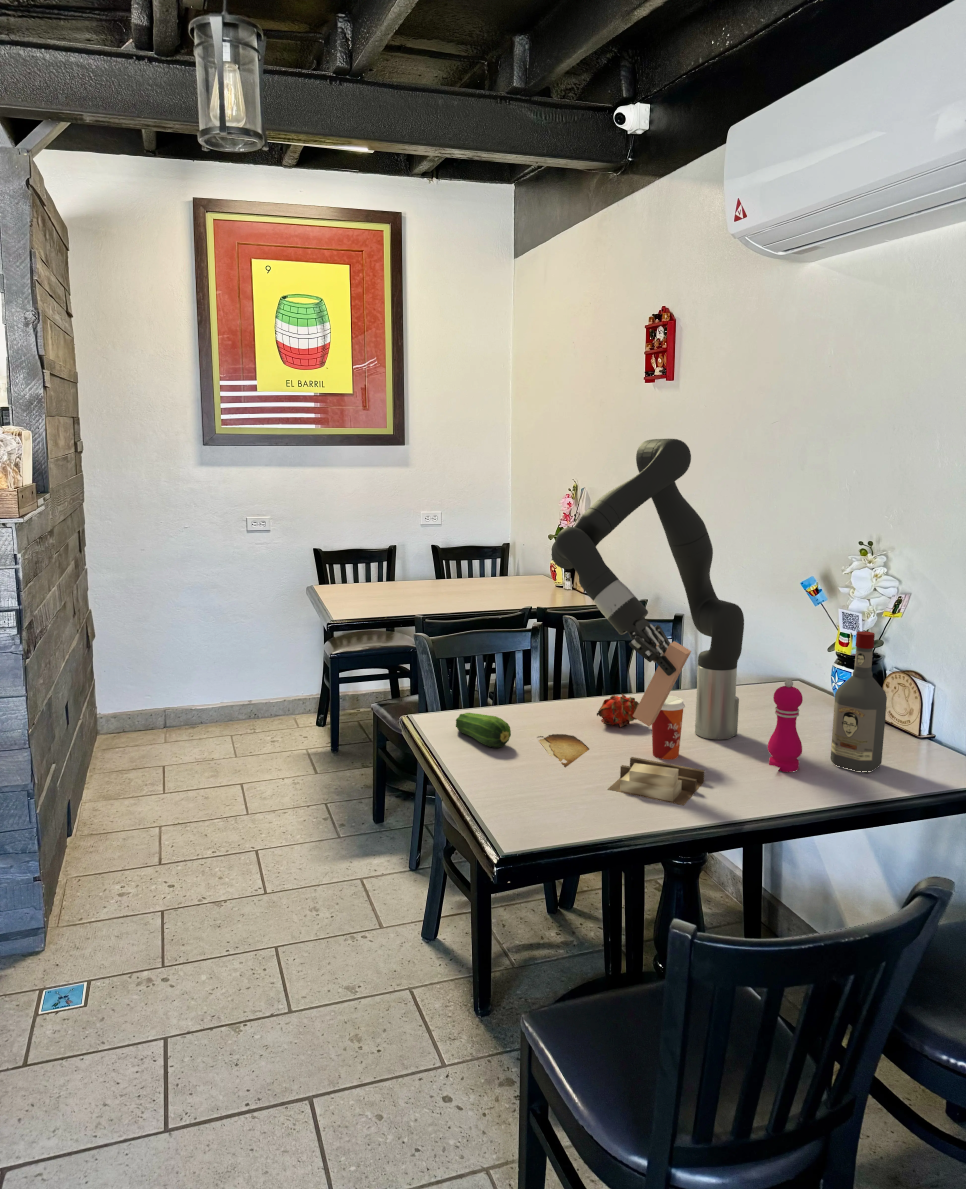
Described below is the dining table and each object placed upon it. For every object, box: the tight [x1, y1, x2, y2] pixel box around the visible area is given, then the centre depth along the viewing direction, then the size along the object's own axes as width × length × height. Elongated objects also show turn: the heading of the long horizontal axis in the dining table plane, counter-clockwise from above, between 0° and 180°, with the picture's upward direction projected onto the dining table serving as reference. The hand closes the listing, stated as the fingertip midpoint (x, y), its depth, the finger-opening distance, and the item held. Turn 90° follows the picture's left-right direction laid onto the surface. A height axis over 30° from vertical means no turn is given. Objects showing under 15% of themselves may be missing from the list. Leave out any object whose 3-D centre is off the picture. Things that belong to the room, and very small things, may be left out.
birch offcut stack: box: [620, 763, 682, 802], centre depth 180 cm, size 11×6×5 cm, turn 60°
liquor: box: [830, 630, 888, 772], centre depth 194 cm, size 9×9×30 cm
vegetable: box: [455, 712, 512, 749], centre depth 213 cm, size 7×7×20 cm
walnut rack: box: [607, 756, 706, 806], centre depth 183 cm, size 16×14×4 cm
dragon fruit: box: [596, 693, 640, 728], centre depth 224 cm, size 8×8×12 cm
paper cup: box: [651, 695, 686, 761], centre depth 199 cm, size 8×8×14 cm
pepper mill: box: [767, 679, 804, 773], centre depth 194 cm, size 7×7×20 cm
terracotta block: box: [633, 640, 692, 727], centre depth 183 cm, size 4×3×18 cm
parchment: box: [536, 733, 590, 768], centre depth 205 cm, size 25×10×1 cm, turn 10°
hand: (675, 670), depth 181 cm, fingers closed on terracotta block, 3 cm apart
